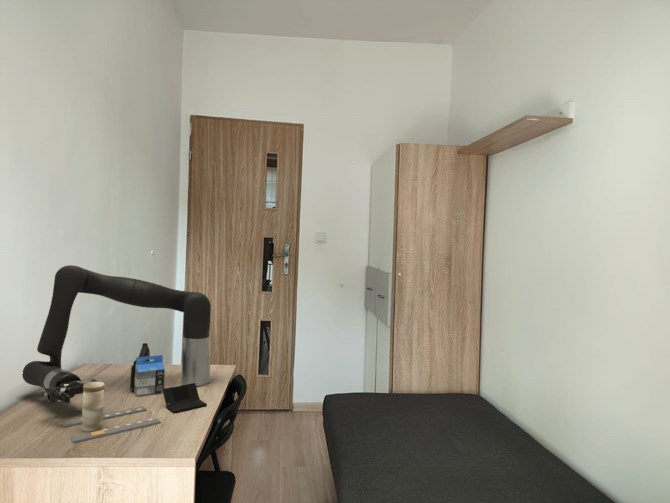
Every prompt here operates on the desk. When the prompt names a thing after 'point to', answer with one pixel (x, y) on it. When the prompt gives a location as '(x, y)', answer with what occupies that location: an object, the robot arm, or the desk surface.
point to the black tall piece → (143, 353)
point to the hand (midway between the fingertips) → (85, 396)
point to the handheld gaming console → (182, 398)
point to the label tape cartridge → (149, 375)
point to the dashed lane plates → (111, 430)
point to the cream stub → (92, 406)
